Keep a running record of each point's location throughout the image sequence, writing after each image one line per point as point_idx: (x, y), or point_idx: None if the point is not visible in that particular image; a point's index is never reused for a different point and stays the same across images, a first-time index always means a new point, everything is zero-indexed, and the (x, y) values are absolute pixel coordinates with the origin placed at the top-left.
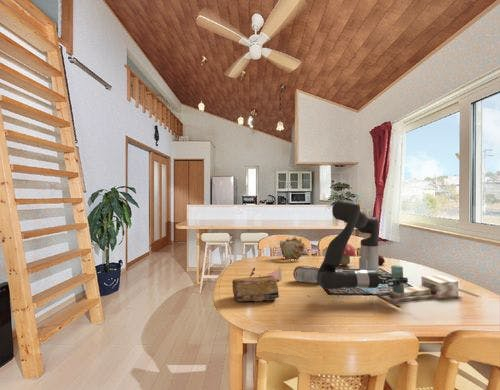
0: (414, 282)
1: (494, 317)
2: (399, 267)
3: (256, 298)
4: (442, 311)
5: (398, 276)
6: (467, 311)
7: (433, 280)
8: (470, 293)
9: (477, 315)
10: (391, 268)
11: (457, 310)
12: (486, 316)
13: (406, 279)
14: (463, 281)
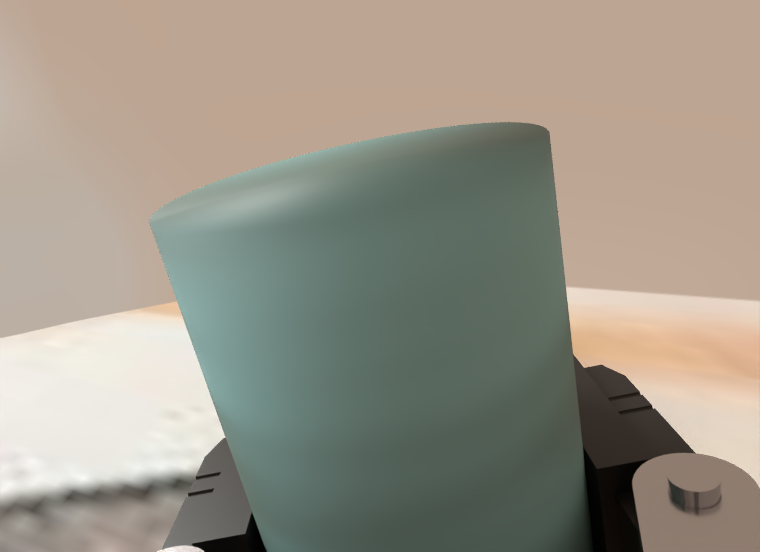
0: (22, 455)
1: (690, 297)
2: (455, 140)
3: None
4: (752, 466)
5: (577, 432)
6: (642, 353)
7: None
8: None
9: (702, 334)
10: (304, 310)
11: (650, 385)
12: (694, 313)
13: (618, 376)
14: (165, 304)
